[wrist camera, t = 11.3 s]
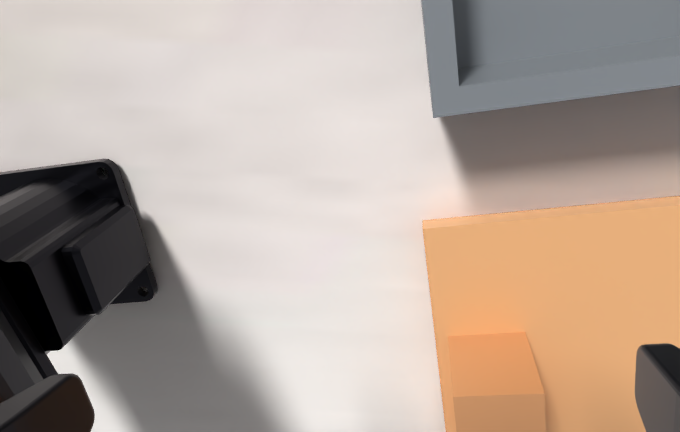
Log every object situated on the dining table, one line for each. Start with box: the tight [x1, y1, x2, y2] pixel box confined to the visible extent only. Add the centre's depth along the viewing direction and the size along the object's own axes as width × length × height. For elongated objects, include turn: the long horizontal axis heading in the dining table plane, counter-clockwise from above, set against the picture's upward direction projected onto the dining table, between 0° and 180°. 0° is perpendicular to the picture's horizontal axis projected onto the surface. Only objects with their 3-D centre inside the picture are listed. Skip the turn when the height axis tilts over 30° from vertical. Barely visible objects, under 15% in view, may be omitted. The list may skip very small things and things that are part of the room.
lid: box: [423, 196, 680, 432], centre depth 20 cm, size 15×15×5 cm
